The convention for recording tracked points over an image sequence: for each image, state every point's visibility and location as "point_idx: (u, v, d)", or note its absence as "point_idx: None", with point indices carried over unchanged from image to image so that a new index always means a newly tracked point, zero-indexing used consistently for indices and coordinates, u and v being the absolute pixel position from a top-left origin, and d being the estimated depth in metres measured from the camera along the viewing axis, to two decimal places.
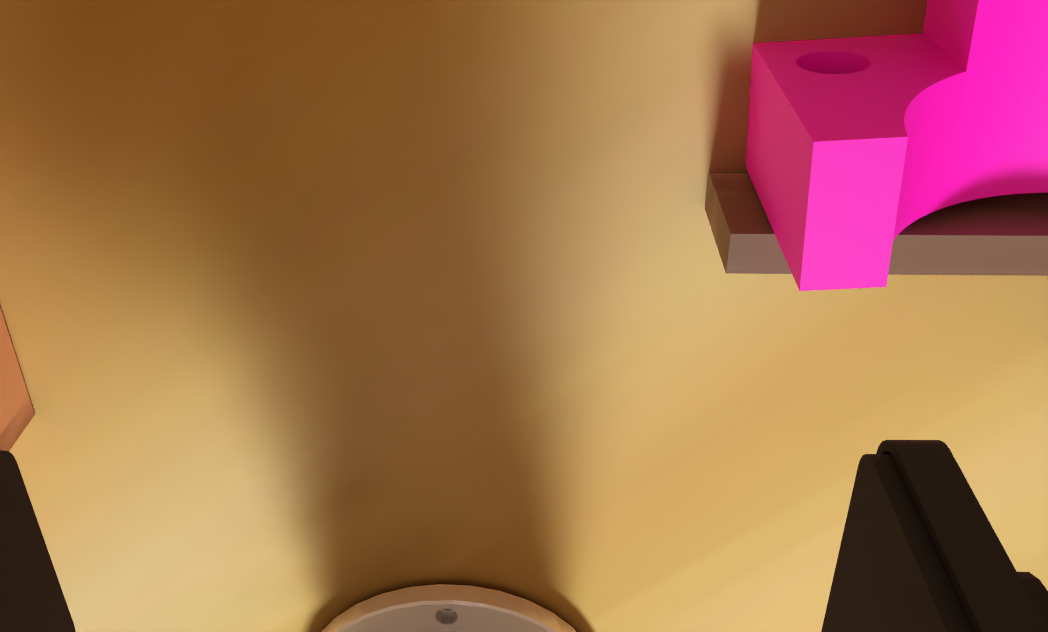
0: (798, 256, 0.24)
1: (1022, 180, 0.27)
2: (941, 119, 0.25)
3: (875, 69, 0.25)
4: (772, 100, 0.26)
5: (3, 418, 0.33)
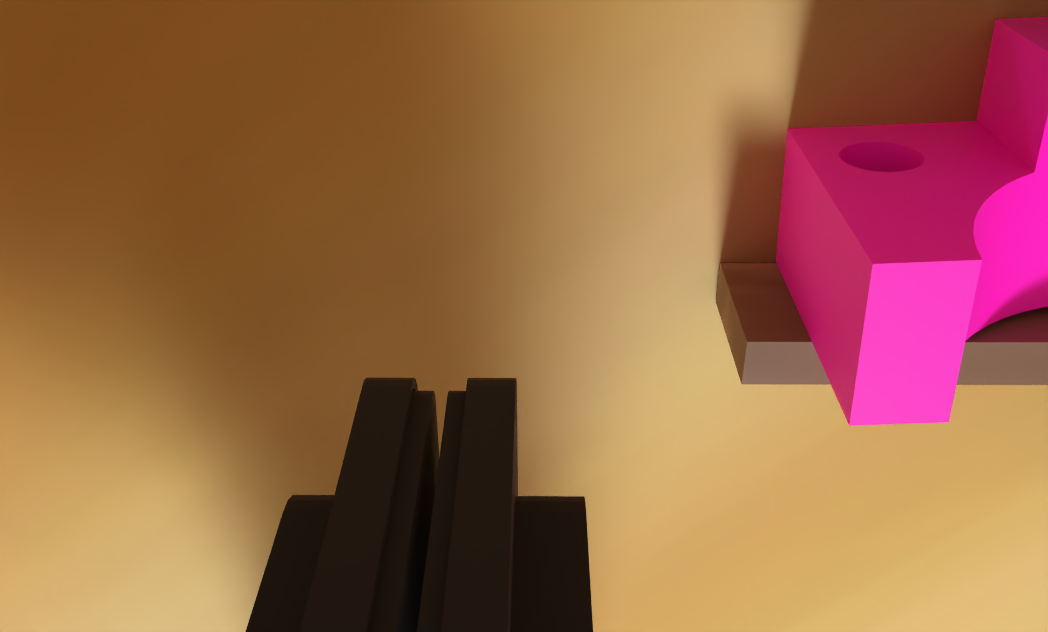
0: (848, 385, 0.21)
1: None
2: (1006, 224, 0.22)
3: (931, 167, 0.22)
4: (813, 199, 0.23)
5: None
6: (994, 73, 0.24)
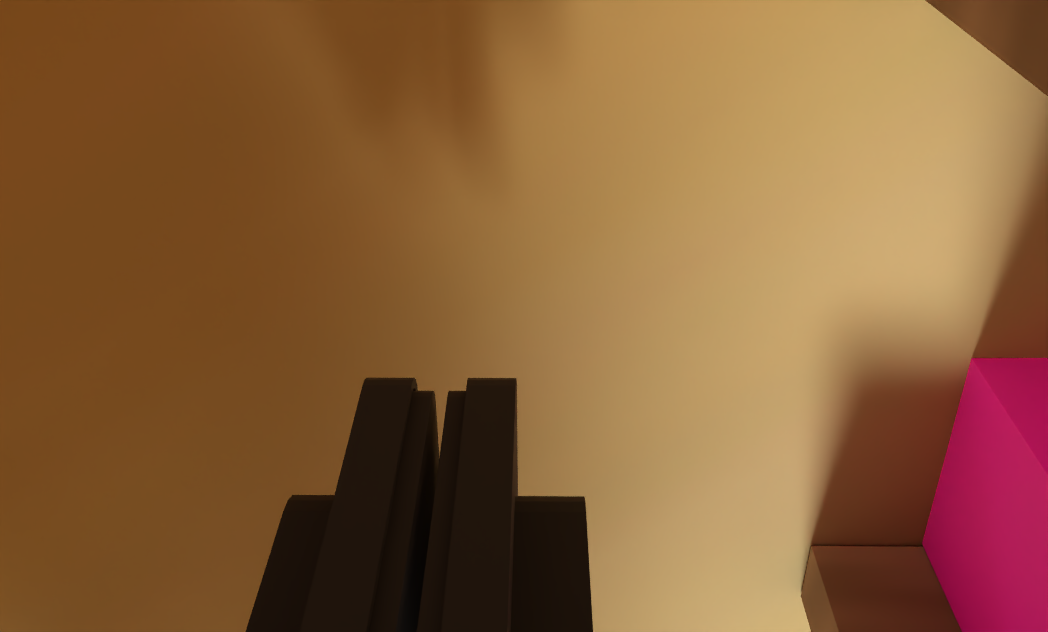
0: None
1: None
2: None
3: None
4: None
5: None
6: None
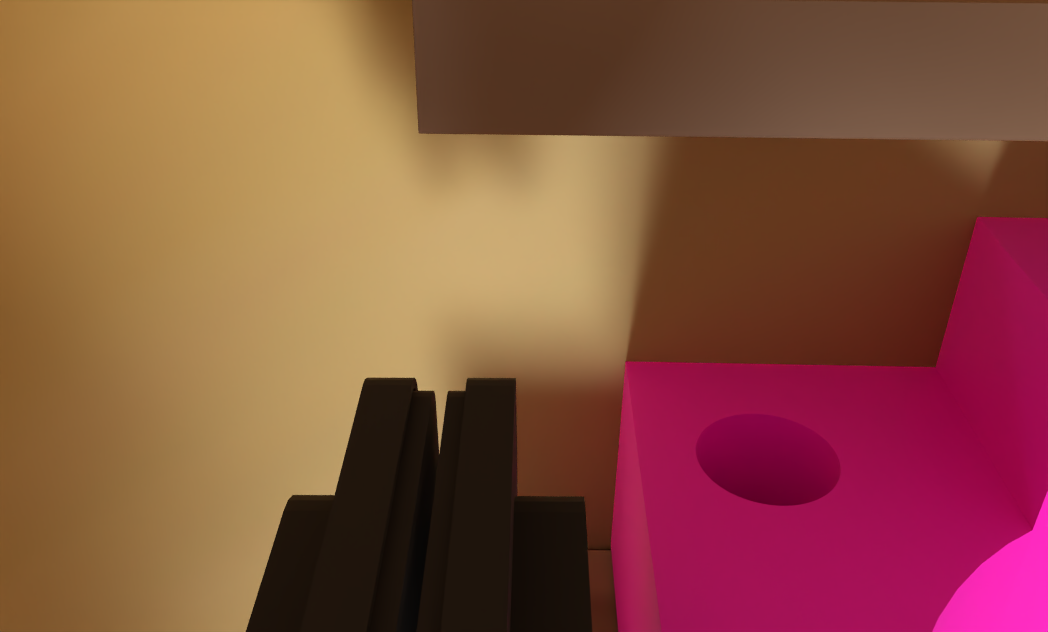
0: None
1: None
2: (975, 614, 0.12)
3: (850, 499, 0.12)
4: (641, 537, 0.13)
5: None
6: (971, 312, 0.14)
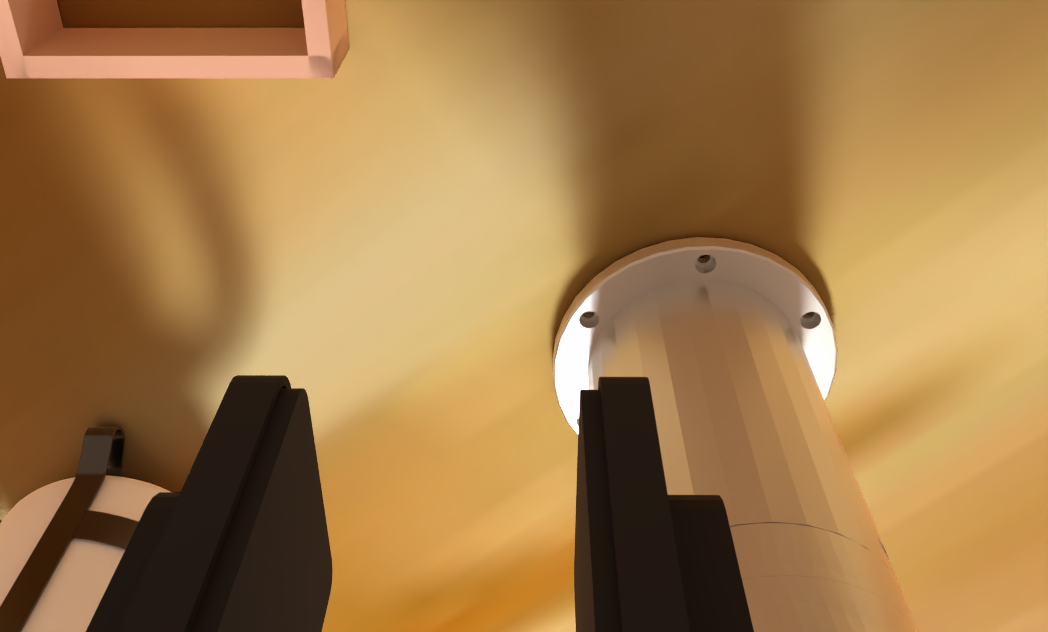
0: None
1: None
2: None
3: None
4: None
5: (338, 31, 0.36)
6: None
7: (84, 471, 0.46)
